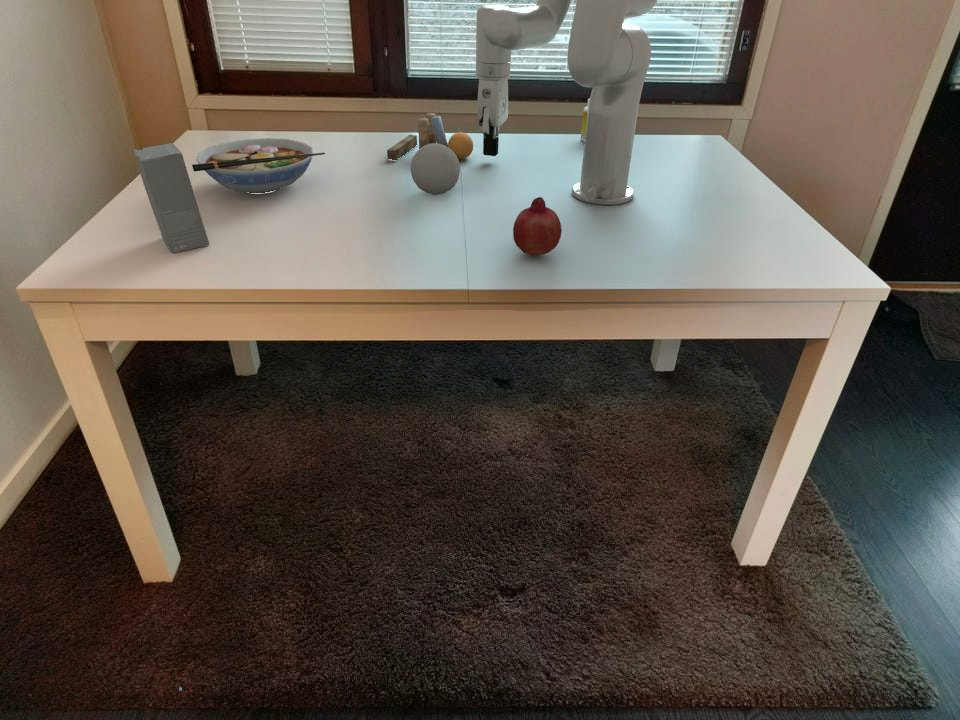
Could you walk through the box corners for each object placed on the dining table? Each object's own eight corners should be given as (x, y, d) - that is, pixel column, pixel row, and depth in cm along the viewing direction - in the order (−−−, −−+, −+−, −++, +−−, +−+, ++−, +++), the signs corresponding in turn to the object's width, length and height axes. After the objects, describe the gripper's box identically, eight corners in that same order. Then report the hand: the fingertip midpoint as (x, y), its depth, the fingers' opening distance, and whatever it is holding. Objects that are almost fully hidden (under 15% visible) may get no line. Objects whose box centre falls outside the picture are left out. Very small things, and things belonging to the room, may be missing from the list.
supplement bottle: (593, 145, 164) (598, 103, 158) (576, 140, 167) (580, 99, 162) (606, 141, 168) (611, 99, 162) (588, 136, 171) (593, 96, 165)
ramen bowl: (309, 166, 147) (304, 129, 142) (336, 198, 130) (331, 157, 125) (193, 180, 138) (183, 141, 133) (205, 216, 121) (194, 173, 116)
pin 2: (434, 154, 155) (433, 115, 150) (425, 153, 156) (424, 115, 151) (438, 151, 157) (437, 113, 152) (428, 151, 158) (427, 112, 153)
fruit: (557, 267, 105) (563, 208, 100) (508, 262, 106) (511, 204, 101) (560, 246, 112) (565, 190, 106) (514, 243, 113) (517, 187, 107)
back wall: (395, 161, 150) (395, 151, 149) (387, 160, 151) (387, 150, 149) (417, 145, 161) (416, 135, 160) (409, 144, 162) (409, 134, 161)
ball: (448, 182, 139) (447, 135, 133) (468, 197, 131) (468, 147, 126) (404, 189, 135) (402, 140, 129) (422, 204, 128) (420, 154, 122)
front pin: (448, 156, 152) (438, 117, 148) (439, 158, 153) (429, 119, 149) (451, 154, 154) (441, 115, 150) (442, 155, 155) (432, 117, 150)
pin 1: (427, 160, 151) (426, 121, 146) (418, 159, 152) (416, 120, 147) (431, 157, 153) (429, 118, 148) (421, 156, 154) (420, 117, 149)
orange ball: (443, 134, 148) (444, 160, 151) (468, 136, 147) (468, 163, 150) (453, 128, 153) (453, 154, 156) (476, 130, 151) (476, 156, 155)
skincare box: (210, 246, 110) (188, 153, 101) (166, 255, 107) (139, 159, 98) (199, 229, 116) (177, 140, 107) (156, 238, 112) (130, 146, 104)
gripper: (500, 77, 133) (497, 165, 144) (517, 65, 145) (513, 147, 155) (466, 74, 135) (465, 162, 145) (485, 62, 147) (484, 144, 157)
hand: (490, 154), depth 150 cm, fingers closed
